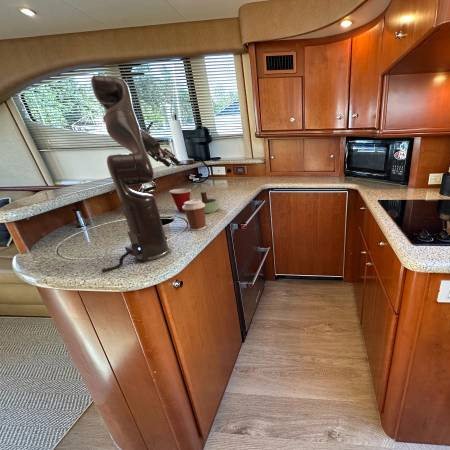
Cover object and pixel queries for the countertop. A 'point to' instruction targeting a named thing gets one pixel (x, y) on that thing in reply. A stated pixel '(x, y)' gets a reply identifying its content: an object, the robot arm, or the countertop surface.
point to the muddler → (204, 197)
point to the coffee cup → (195, 214)
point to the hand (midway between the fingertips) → (174, 164)
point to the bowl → (211, 206)
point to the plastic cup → (180, 197)
